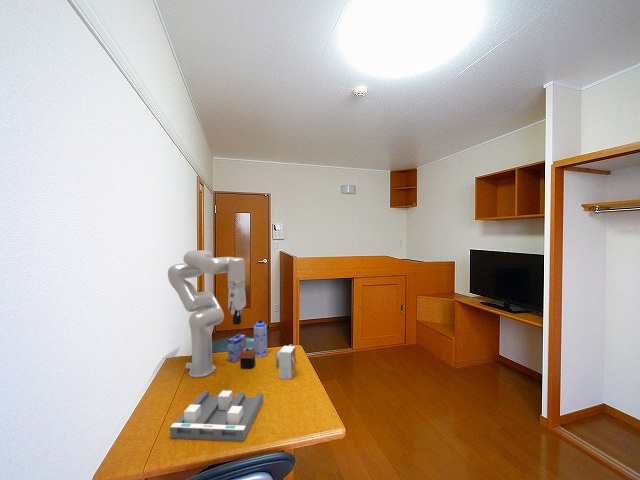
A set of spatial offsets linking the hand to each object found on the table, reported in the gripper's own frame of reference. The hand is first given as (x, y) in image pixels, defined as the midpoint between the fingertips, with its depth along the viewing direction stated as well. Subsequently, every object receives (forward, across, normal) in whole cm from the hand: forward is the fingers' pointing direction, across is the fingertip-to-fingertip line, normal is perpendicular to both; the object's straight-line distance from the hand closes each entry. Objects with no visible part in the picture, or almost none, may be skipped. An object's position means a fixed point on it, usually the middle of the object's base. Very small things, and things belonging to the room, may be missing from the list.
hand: (237, 323), depth 123 cm
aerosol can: (+29, +34, 0) cm, 45 cm away
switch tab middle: (+27, -18, -2) cm, 33 cm away
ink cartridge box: (+29, +28, +12) cm, 42 cm away
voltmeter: (+29, +28, -17) cm, 44 cm away
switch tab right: (+27, -27, -10) cm, 40 cm away
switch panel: (+29, -22, -2) cm, 36 cm away
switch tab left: (+27, -28, +6) cm, 39 cm away
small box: (+29, +11, -21) cm, 38 cm away
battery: (+29, +18, +2) cm, 34 cm away
